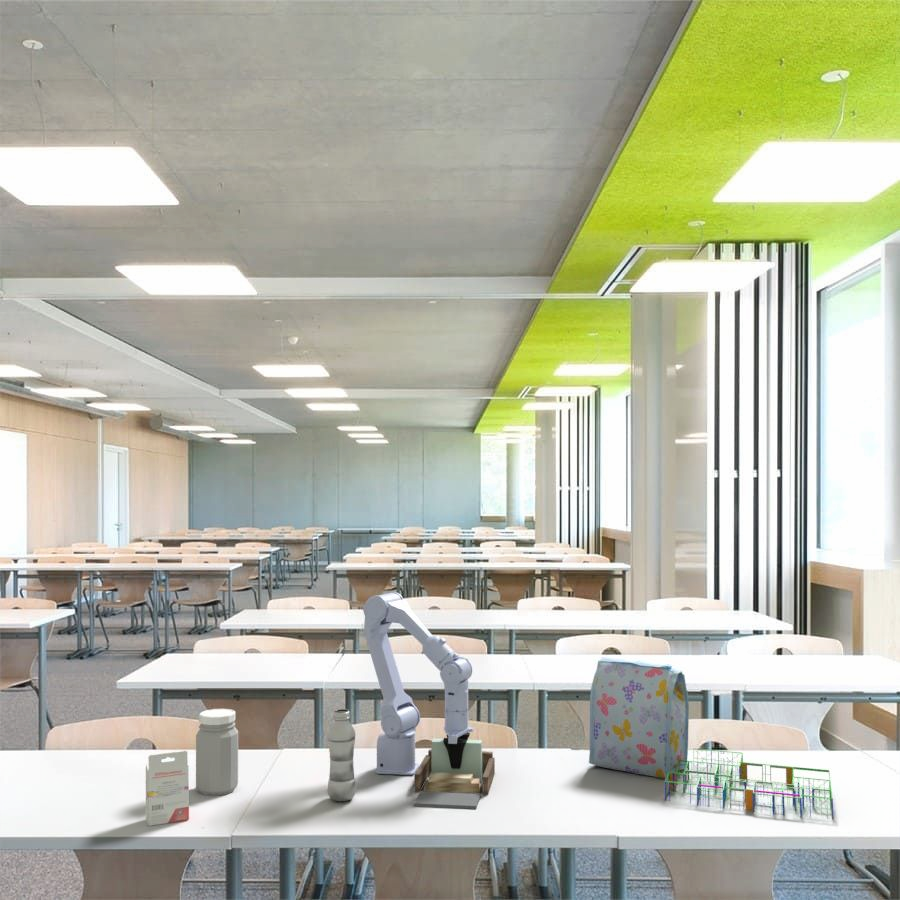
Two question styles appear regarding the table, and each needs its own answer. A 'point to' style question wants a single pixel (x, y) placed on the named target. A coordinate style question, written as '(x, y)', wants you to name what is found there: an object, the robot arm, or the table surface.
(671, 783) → the house model
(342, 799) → the plastic bottle
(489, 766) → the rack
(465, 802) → the mat
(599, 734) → the lunch bag
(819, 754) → the table surface
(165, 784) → the ink cartridge box
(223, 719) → the jar
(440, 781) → the offcuts
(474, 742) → the pale green block
